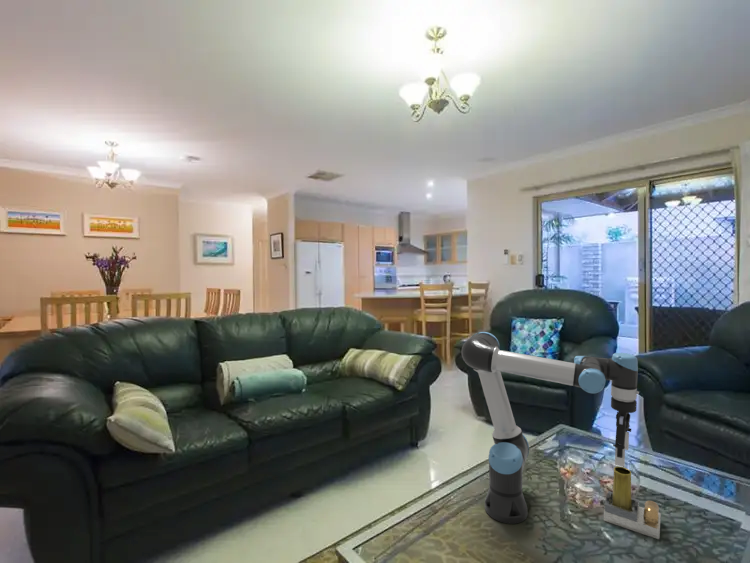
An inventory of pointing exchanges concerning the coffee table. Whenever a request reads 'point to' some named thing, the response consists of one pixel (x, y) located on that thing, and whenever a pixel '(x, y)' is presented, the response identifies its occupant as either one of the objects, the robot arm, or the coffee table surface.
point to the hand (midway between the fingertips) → (621, 456)
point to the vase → (622, 488)
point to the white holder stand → (634, 516)
